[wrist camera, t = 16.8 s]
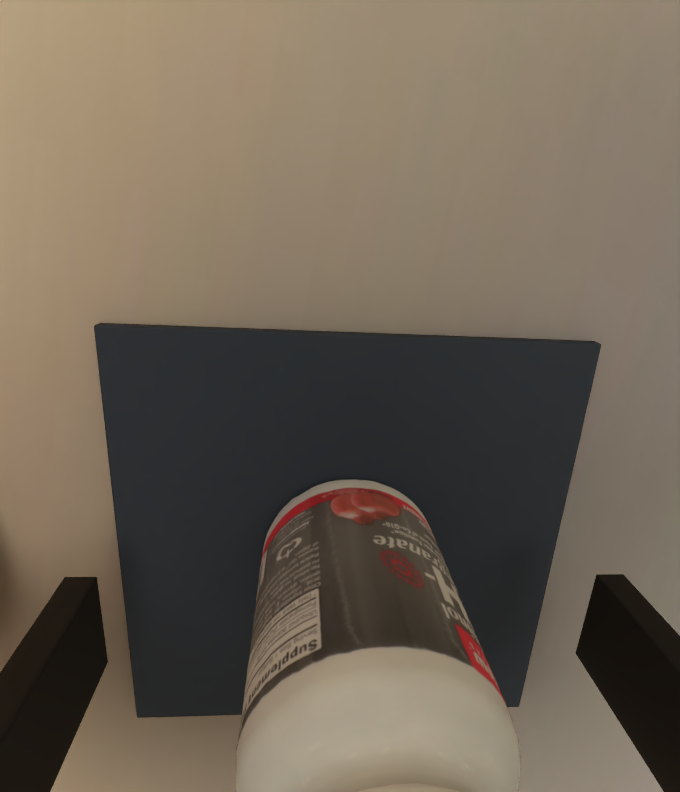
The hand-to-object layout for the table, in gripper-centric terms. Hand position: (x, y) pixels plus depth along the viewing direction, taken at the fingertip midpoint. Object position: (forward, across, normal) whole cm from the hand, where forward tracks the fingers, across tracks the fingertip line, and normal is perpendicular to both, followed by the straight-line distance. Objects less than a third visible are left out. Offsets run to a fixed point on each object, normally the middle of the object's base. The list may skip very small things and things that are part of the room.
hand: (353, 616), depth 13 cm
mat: (+3, 0, 0) cm, 3 cm away
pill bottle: (+3, 0, 0) cm, 3 cm away
